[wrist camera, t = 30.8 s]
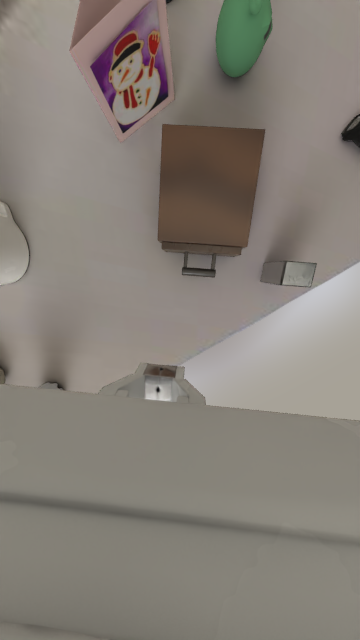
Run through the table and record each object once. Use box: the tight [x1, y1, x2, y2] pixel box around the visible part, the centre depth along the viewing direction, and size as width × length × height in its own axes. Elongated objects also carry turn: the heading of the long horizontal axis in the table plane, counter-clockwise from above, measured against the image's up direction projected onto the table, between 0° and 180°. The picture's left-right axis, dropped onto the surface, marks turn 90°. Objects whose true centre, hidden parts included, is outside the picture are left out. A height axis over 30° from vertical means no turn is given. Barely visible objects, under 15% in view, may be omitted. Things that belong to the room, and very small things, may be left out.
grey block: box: [261, 261, 317, 287], centre depth 34 cm, size 4×4×10 cm
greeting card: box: [69, 0, 175, 143], centre depth 26 cm, size 11×7×15 cm, turn 121°
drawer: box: [162, 241, 242, 277], centre depth 34 cm, size 19×13×5 cm
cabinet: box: [158, 124, 265, 249], centre depth 33 cm, size 16×15×7 cm
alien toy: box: [216, 0, 272, 77], centre depth 26 cm, size 7×8×10 cm
